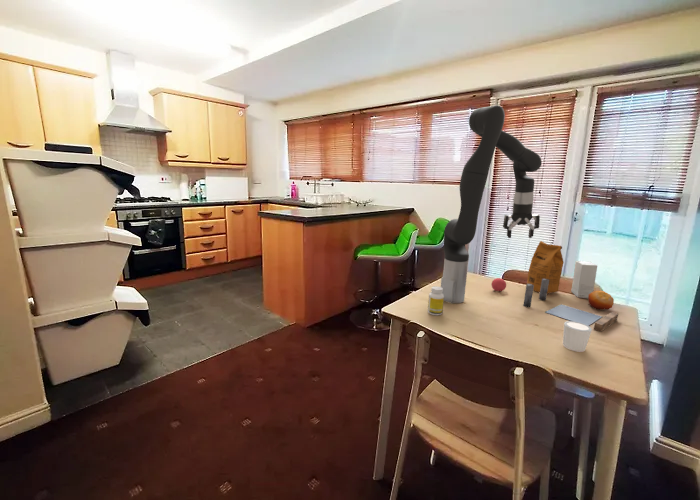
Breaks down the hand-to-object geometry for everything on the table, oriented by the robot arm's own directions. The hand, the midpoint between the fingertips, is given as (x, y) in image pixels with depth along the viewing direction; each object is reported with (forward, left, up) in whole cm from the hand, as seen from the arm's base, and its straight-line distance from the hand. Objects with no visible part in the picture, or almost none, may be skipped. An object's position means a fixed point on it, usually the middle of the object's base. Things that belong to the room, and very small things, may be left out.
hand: (519, 237), depth 145 cm
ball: (-11, +1, -21) cm, 24 cm away
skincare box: (+16, -22, -24) cm, 36 cm away
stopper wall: (-11, -39, -24) cm, 47 cm away
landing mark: (-11, -29, -24) cm, 39 cm away
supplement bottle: (-54, +1, -24) cm, 59 cm away
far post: (-5, -15, -24) cm, 29 cm away
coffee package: (+8, -9, -24) cm, 27 cm away
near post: (-18, -15, -24) cm, 33 cm away
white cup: (-38, -39, -24) cm, 60 cm away
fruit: (+5, -32, -24) cm, 41 cm away
